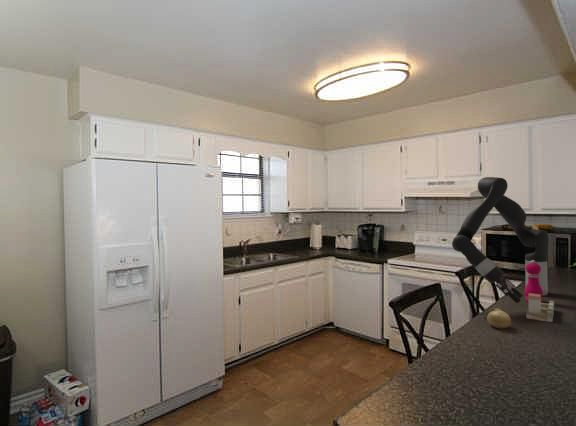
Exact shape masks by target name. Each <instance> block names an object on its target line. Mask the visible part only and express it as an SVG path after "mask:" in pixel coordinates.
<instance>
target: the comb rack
mask: <svg viewBox="0 0 576 426" xmlns="http://www.w3.org/2000/svg"><path fill="white" fill-rule="evenodd" d="M554 311H555V301H554V300H549V302H548V303H544V302H542V303H541V313H535V312H529V306H528V309H527V311H526V316H525V317H526V319H529V320H536V321H541V322H548V323H553V320H554V314H555V312H554Z"/></svg>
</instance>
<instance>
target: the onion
mask: <svg viewBox="0 0 576 426" xmlns="http://www.w3.org/2000/svg"><path fill="white" fill-rule="evenodd" d="M486 317H487V318H486V319H487V322H488V324H489V325H490V326H492V327H494V328H497V329H499V330H500V329H507V328H509V327H510V326H511V324H512V319H511V316H510V315H509V314H508V313H506V312H505V311H503V310H502V309H501V308H496V307H495V308H494V307H492V311H490V312H489V313H488V314H487V316H486Z"/></svg>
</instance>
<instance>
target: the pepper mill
mask: <svg viewBox="0 0 576 426" xmlns="http://www.w3.org/2000/svg"><path fill="white" fill-rule="evenodd" d="M526 271H527V272H528V273H527V276H528V283H527V285H526V284H525V287H524V294H525V301H526V302H528V295H529V293H531V294H540V295H541V303H543V300H542V299H543V298H542V295H543V291H542V288H541V286H540V284H539V277H540V274H539V273H540V271H541V267H540V266H539V265H538V264H535V261H534V260H532V261H531V263H530V264H527V265H526Z"/></svg>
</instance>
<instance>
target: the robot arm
mask: <svg viewBox="0 0 576 426" xmlns="http://www.w3.org/2000/svg"><path fill="white" fill-rule="evenodd" d="M477 190H478V192H479V194H480V195H481V196H482V197H483V198H484V200H483V201H482V202H481V203H480V204H479V205H477V206H476V207H475V208H474V209H472V210H471V211H470V212H469V213H468V214H467V216H466V217H465V219H464V220H463V223H462V224H461V226H460V229H459V230H458V232H457V234H456V235H455V237H454V238H453V239H452V243H451V246H452V248H453V249H454V251H456V252H458V253H461V254H462V255H463V256H464V257H465V258H466V261H468V263H469V264H470V265H471V266H472V267H474V269H475V270H476V271H477V272H478V273H479V274H480V275H481V276H482V277H483V278H484V279H485V280H486V281H487V282H488V283H489V284H494V282H495V283H496V284H495V287H496V288H498V290H499V291H501V292H502V294H504V295H505V296H506V297H509V298H510V299H511V300H512V301H514V302H515V304H518V303H519V302H521V301H522V299H521V298H522V297H523V296H524V295H523V294H522V293H521V292H520V291H519V290H518V289H517V288H516V284H513V282H511V281H510V280H509V279H508V278H507V277H506V276H505V275H504V274H505V272H504V271H503V270H502V269H501V268H500V267H499V266H498V265H497V264H496V263H494V261H492V260H491V259H490V258H488V257H487V256H486V255H485V254H484V253H483V252H482V251H480V250H479V249H478V247H477V246H476V245H475V244H474V243H473V241H472V240H473V238H474V236H475V235H476V234H477V232H478V230H479V229H480V228H481V226H482V224H483V222H484V221H485V220H486V217H487V216H488V215H489V214H490V212H491V211H492V210H493V209H495V210H496V211H497V212H498V213H499V214H500V216H501V217H502V218H503V220H505V222H506V223H507V224H508V225H509V227H510V228H511V229H512V230H513V231H514V233H515V234H516V236H517V238H518V239H519V240H520V243H522V244H523V246H525V247H528V248H534V249H535V251H534V252H532V253H526V254H525V256H524V262H525V263H524V265H525V269H524V270H525V286H526V285H527V283H528V276H527V273H528V272H527V271H526V265H527V264H530V263H531V261H532V260H534V261H535V264H538V265H539V266H540V267H541V271H540V273H539V274H540V277H539V284H540V286H541V288H542V291H543V295H542V296H544V297H545V296H548V290H549V289H548V287H549V286H548V285H549V284H548V257H549V241H550V238H549V234H548V232H547V231H546V230H544V229H530V228H529V227H528V226H526V225H525V223H526V221H527V213H526V212H525V210H524V209H523V208H522V206H521V205H520V204H519V203H518V202H516V201H515V200H513V199H511V198H510V197H508V196H506V195H505V194H506V192H507V190H508V182H507V180H506V179H505V178H504V177H496V176H495V177H494V176H485V177H483V178H480V179H479V180H478V182H477ZM503 275H504V276H503ZM542 296H541V297H542Z"/></svg>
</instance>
